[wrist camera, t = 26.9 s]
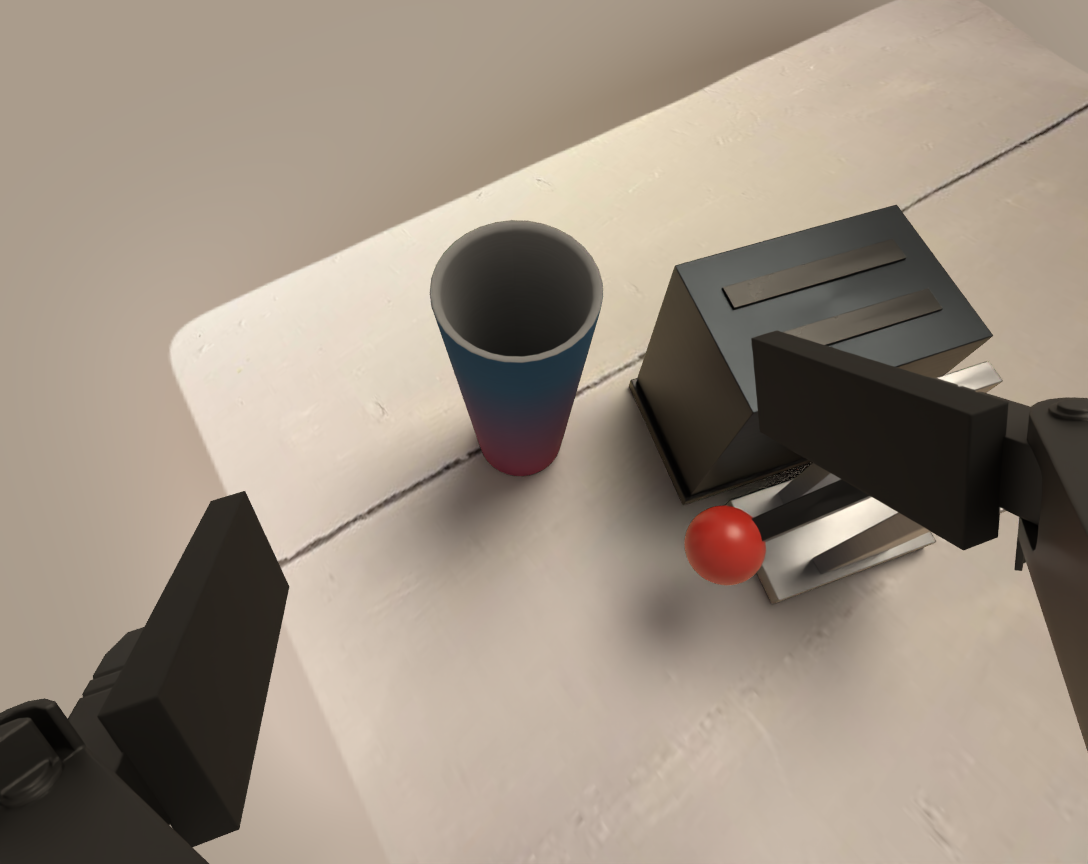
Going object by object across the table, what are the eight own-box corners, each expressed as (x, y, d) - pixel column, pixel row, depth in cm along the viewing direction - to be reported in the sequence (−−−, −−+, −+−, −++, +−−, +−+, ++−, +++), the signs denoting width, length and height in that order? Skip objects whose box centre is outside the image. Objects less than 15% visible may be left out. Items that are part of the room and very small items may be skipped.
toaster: (682, 505, 37) (749, 418, 26) (628, 385, 40) (667, 261, 29) (867, 442, 39) (1005, 335, 28) (802, 332, 42) (901, 197, 31)
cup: (581, 486, 37) (613, 356, 23) (466, 495, 37) (430, 368, 23) (570, 385, 40) (592, 215, 26) (462, 392, 40) (428, 223, 26)
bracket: (771, 604, 35) (911, 545, 22) (723, 505, 37) (826, 400, 24) (925, 546, 36) (1137, 460, 24) (870, 455, 38) (1038, 331, 26)
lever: (713, 596, 30) (695, 598, 27) (683, 527, 32) (662, 521, 29) (1005, 478, 26) (1024, 465, 23) (955, 404, 27) (966, 382, 24)
